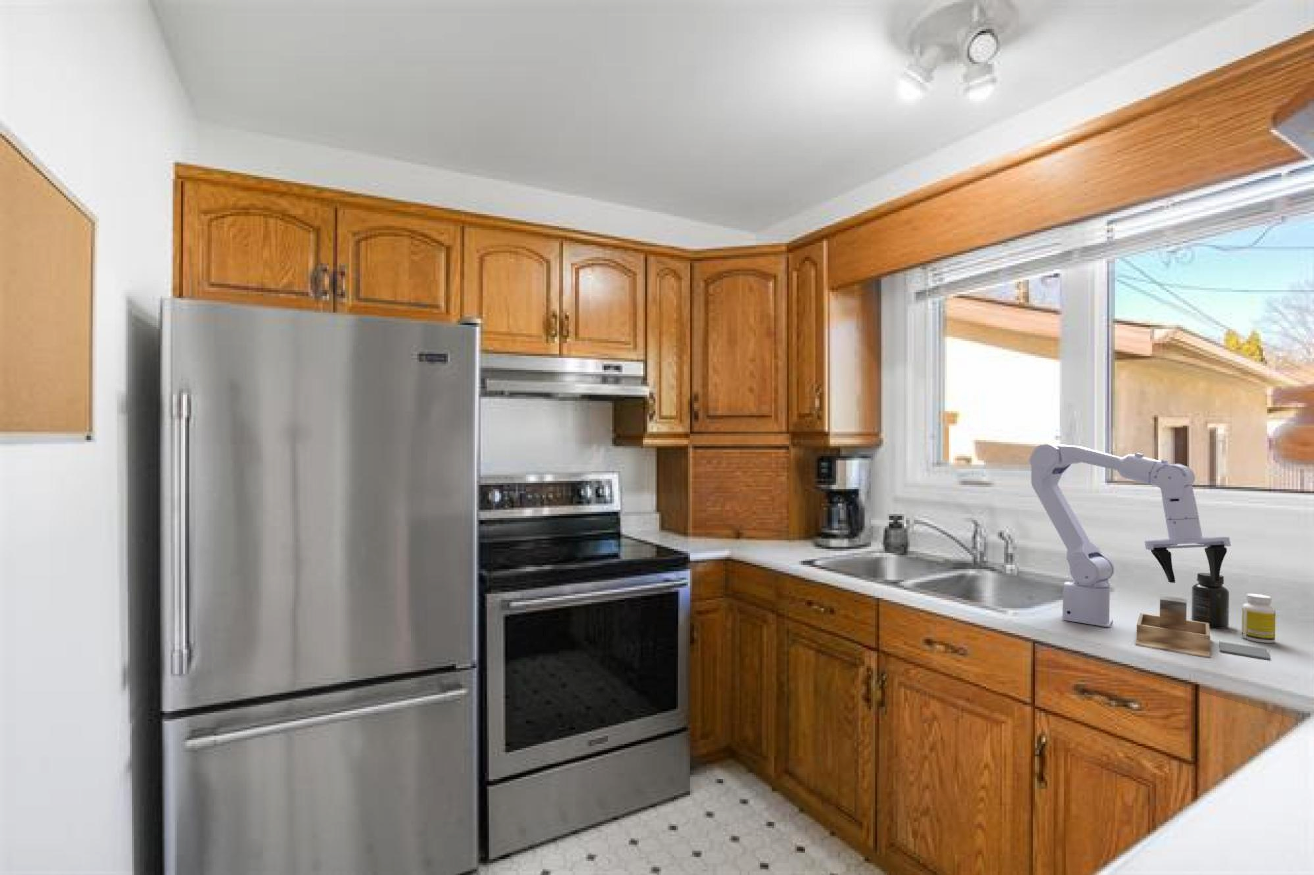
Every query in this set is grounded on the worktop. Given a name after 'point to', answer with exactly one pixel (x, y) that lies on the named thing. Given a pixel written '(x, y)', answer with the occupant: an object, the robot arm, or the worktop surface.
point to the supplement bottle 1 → (1210, 601)
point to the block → (1173, 613)
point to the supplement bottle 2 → (1258, 619)
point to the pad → (1244, 650)
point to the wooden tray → (1174, 636)
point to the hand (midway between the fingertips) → (1193, 581)
